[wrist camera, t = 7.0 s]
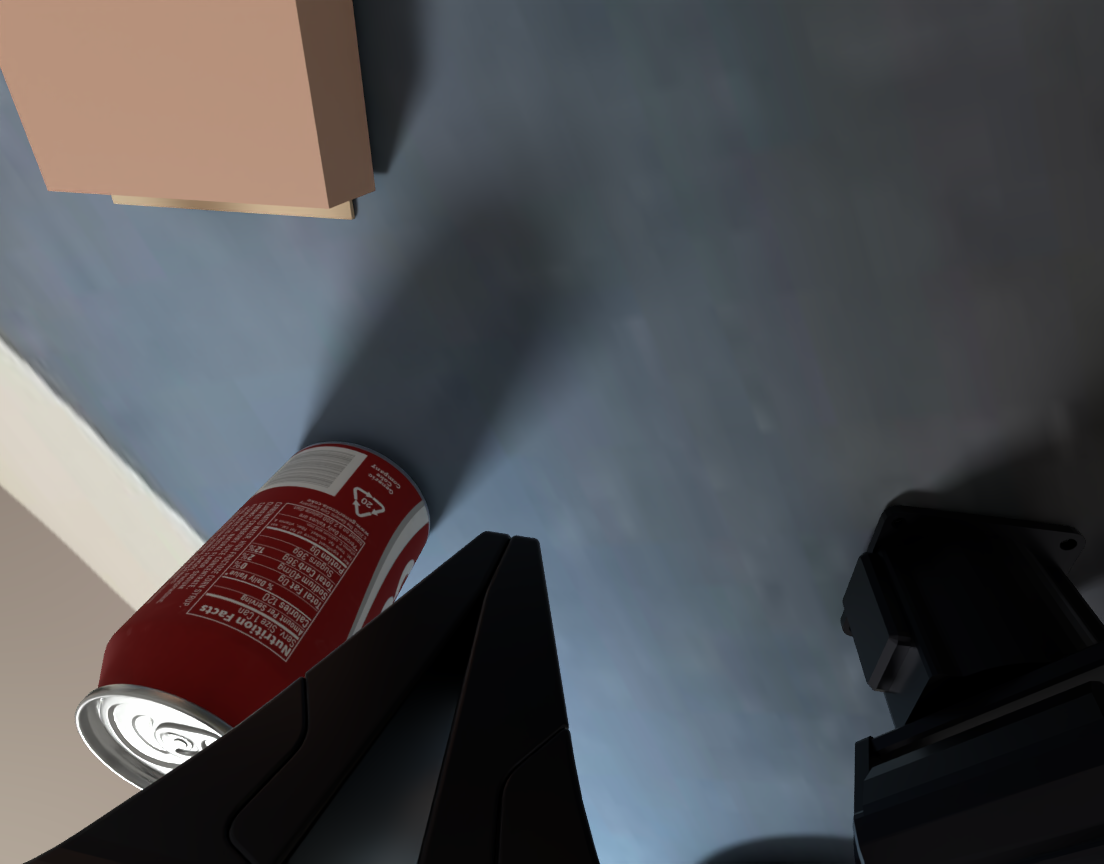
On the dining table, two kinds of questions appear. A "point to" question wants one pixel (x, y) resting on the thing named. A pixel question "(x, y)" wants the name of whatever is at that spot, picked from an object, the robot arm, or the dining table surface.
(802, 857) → the dining table surface
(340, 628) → the soda can
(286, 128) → the block
